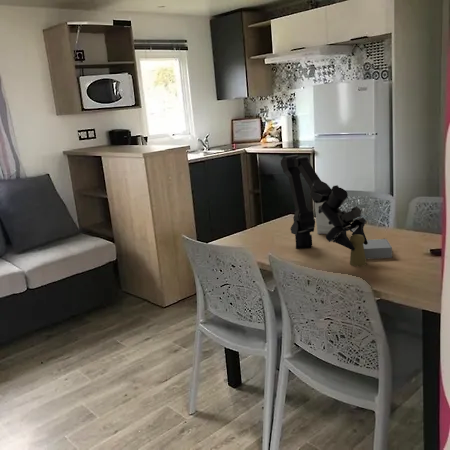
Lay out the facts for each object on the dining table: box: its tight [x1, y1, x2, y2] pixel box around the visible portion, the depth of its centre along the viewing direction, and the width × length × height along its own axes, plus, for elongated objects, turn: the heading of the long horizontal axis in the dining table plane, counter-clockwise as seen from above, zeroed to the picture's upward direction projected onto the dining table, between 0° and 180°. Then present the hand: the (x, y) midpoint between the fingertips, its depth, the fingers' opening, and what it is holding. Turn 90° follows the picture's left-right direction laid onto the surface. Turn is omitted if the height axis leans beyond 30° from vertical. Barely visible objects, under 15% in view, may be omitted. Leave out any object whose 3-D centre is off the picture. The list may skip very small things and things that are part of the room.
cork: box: [349, 234, 367, 267], centre depth 182 cm, size 6×6×11 cm
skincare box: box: [314, 202, 334, 235], centre depth 228 cm, size 8×7×16 cm
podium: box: [363, 238, 393, 260], centre depth 193 cm, size 12×12×4 cm
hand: (360, 246), depth 181 cm, fingers open, 8 cm apart
